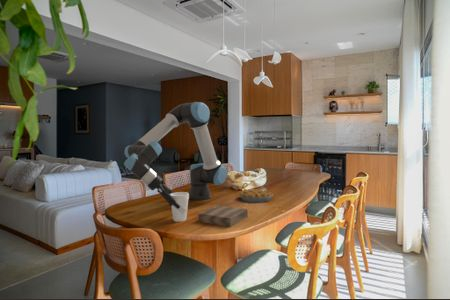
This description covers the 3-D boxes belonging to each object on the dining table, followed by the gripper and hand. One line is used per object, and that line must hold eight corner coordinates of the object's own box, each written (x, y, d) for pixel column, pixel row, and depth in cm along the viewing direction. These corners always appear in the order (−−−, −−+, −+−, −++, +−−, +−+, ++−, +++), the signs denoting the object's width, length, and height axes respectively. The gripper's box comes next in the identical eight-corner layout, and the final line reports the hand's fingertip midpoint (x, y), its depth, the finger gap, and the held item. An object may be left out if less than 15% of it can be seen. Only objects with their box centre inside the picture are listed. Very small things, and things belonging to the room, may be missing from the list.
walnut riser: (198, 221, 142) (198, 213, 142) (217, 212, 157) (217, 205, 157) (230, 226, 133) (230, 218, 133) (247, 216, 148) (247, 209, 148)
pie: (278, 201, 182) (278, 193, 182) (246, 204, 176) (246, 196, 176) (264, 194, 203) (264, 187, 203) (234, 197, 197) (234, 189, 197)
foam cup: (173, 223, 139) (172, 196, 138) (167, 218, 147) (167, 193, 146) (192, 220, 143) (191, 194, 142) (185, 216, 151) (185, 191, 151)
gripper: (148, 181, 154) (178, 207, 157) (144, 190, 129) (178, 221, 133) (158, 171, 154) (187, 197, 158) (156, 178, 130) (190, 209, 133)
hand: (183, 208), depth 145 cm, fingers open, 13 cm apart
